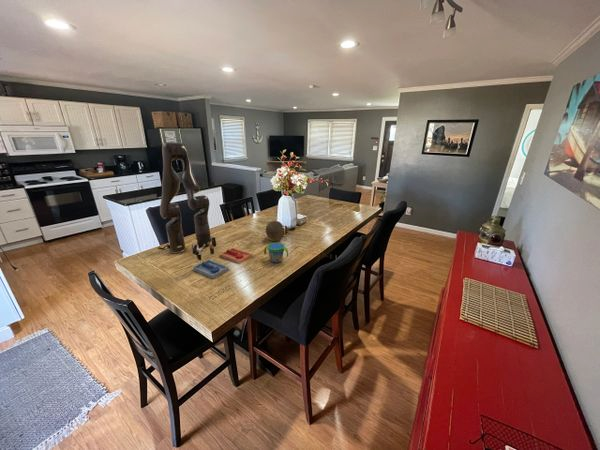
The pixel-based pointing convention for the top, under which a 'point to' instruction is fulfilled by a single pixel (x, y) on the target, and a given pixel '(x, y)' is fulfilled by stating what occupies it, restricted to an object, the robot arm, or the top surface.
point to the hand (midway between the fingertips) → (206, 256)
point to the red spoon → (235, 254)
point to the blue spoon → (210, 267)
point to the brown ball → (275, 231)
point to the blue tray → (206, 271)
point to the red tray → (233, 258)
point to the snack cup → (276, 251)
